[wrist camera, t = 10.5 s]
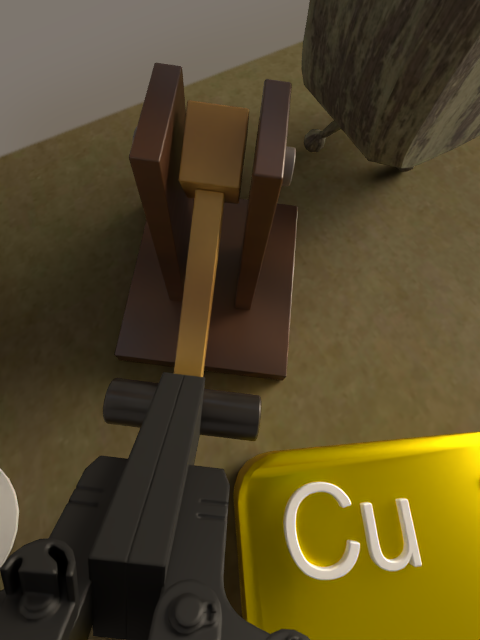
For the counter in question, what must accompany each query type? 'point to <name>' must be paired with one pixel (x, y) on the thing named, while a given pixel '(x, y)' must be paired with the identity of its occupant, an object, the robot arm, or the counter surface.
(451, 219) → the counter surface
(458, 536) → the element tile
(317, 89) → the tabletop clock
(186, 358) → the lever
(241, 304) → the wooden lever stand
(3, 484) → the wineglass
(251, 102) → the counter surface
